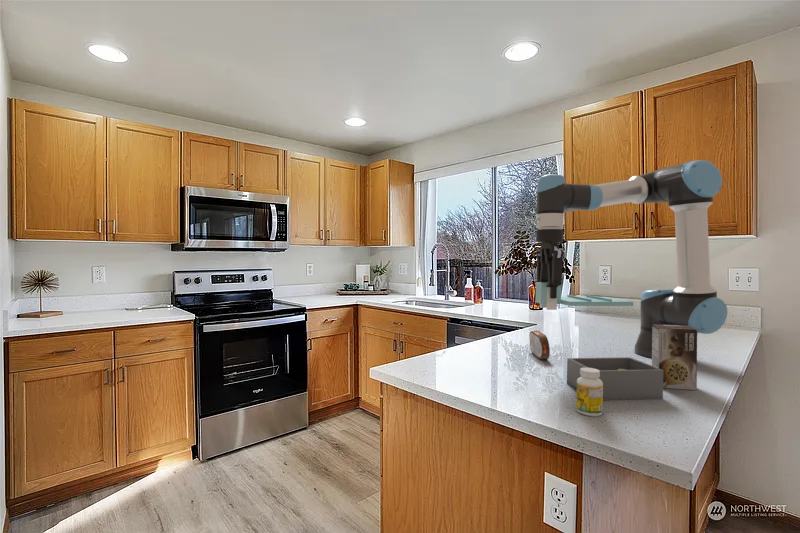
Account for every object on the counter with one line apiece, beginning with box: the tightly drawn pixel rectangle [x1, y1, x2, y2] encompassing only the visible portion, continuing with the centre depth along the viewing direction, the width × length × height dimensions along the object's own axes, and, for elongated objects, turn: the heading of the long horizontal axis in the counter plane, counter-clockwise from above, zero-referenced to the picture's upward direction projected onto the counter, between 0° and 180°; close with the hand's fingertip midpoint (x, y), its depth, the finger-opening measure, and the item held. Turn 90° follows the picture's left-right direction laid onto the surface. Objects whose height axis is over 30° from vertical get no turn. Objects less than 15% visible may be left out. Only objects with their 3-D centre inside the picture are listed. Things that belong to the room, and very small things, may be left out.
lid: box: [535, 281, 634, 307], centre depth 125 cm, size 25×14×6 cm, turn 95°
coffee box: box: [651, 324, 698, 391], centre depth 114 cm, size 9×6×16 cm
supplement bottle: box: [575, 368, 604, 417], centre depth 94 cm, size 5×5×10 cm
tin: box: [528, 330, 551, 360], centre depth 146 cm, size 15×3×8 cm, turn 179°
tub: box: [566, 356, 664, 401], centre depth 109 cm, size 18×13×7 cm
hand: (548, 308), depth 124 cm, fingers closed on lid, 4 cm apart
